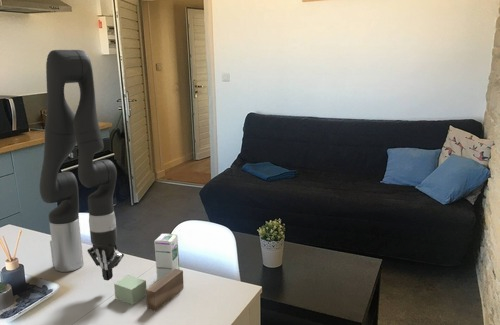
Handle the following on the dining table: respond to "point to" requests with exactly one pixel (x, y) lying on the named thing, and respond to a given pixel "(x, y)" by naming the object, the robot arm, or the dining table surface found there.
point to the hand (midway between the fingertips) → (108, 279)
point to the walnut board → (164, 289)
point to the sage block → (130, 289)
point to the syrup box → (166, 254)
